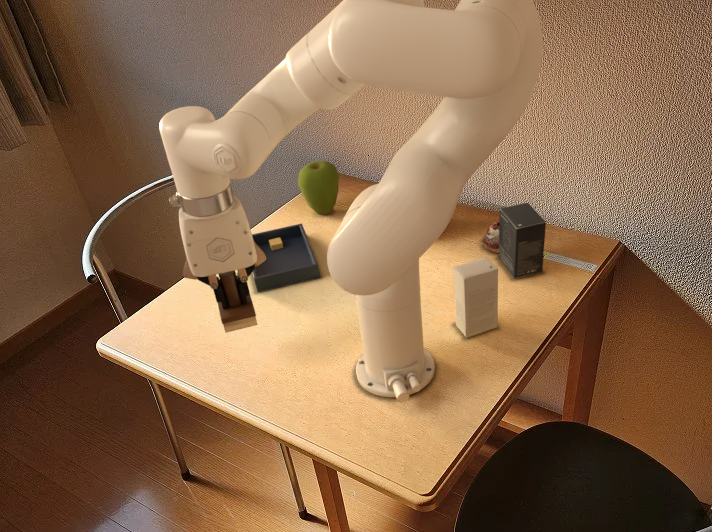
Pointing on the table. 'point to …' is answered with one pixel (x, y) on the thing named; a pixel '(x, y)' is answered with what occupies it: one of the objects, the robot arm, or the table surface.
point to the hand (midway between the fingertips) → (234, 300)
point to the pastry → (492, 237)
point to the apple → (319, 186)
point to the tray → (285, 259)
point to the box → (521, 240)
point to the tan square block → (276, 243)
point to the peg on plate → (235, 305)
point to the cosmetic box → (476, 296)
